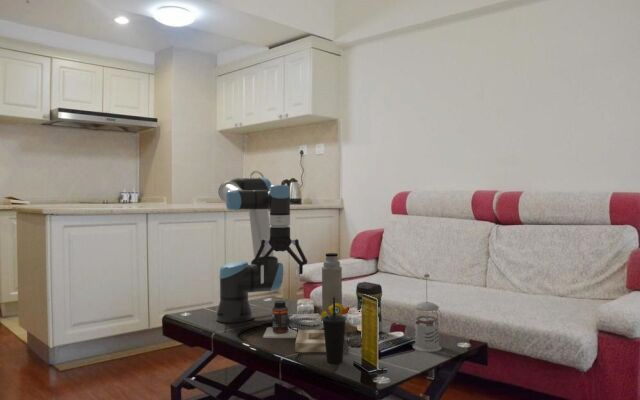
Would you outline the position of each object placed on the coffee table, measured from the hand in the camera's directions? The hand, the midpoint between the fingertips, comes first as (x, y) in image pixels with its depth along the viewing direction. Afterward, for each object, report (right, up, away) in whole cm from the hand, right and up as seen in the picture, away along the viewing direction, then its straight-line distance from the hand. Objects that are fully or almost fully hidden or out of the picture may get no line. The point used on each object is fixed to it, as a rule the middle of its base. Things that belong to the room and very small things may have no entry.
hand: (280, 283), depth 190 cm
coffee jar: (+33, -19, +1) cm, 38 cm away
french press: (+52, -19, -18) cm, 58 cm away
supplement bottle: (0, -18, 0) cm, 18 cm away
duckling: (+20, -19, +5) cm, 28 cm away
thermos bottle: (+20, -19, +14) cm, 31 cm away
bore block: (+15, -19, -14) cm, 28 cm away
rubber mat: (0, -19, 0) cm, 19 cm away
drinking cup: (+19, -20, -32) cm, 42 cm away
